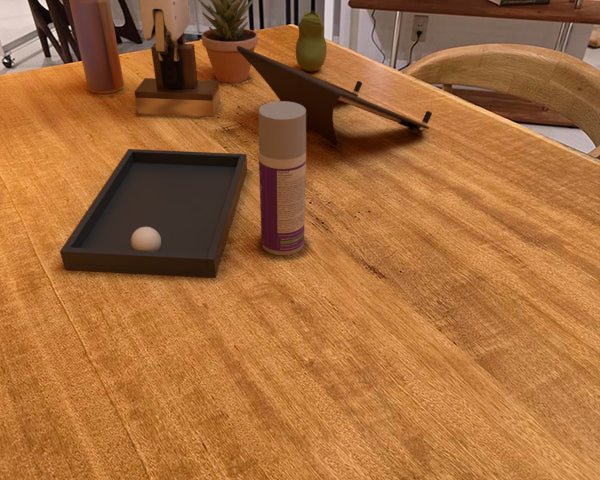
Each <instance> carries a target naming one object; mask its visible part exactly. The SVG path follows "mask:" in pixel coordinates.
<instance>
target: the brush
mask: <svg viewBox="0 0 600 480" xmlns="http://www.w3.org/2000/svg"><path fill="white" fill-rule="evenodd" d="M168 45H171V47H172V44H168ZM172 49H173V47H172ZM195 49H196V48H195V44H194V43H185V44H178V51H179V60H182V68H183V77H184V86H183V87H182V88H174V87H164V86H163V82H162V74H161V67H160V60H159V54H158V52H157V51H156V42H154V44H153V45H152V46H151V47H150V50H151V57H152V65H153V71H154V78H153V77H151V78H150V77H145V78H144V79H142V81H141V82H140V84H139V85H138V86H137V88H136V89H135V90H134V98H135V104H136V109H137V110H136V112H137V114H139V115H140V114H141V115H161V116H164V115H165V116H191V117H212V118H213V117H215V115H216V113H217V111H218V108H219V106H220V105H221V92H220V89H221V88H220V81H218V80H209V79H208V80H207V79H206V80H205V79H198V70H197V59H196V50H195Z"/></svg>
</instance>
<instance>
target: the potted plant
mask: <svg viewBox="0 0 600 480" xmlns="http://www.w3.org/2000/svg"><path fill="white" fill-rule="evenodd" d="M197 1H198V2H199V3H200V4H201V5H202V7H203V8H204V9H205V10H206V11H207V12H208V13H209V14H210V15H211V16H212V17H213V18H214V19H213V18H211V17H210V16H209V15H207V14H206V13H204V12H203V11H202V15H203V17H204V18H205V19H206V20H207V21H208V22H209V23H210V24H211V25H212V26H213V27H214V28H212V27H211V26H208V29H207V30H205V31H204V32H202V34H201V41H202V42H201V43H202V46H203V47H204V48H205V51H206V53H207V56H208V59H209V62H210V64H211V68H212V72H213V73H214V76H215V80H216V81H219V82H221V83H227V84H238V83H239V84H240V83H241V82H245V81H247V80H248V79H249V78H250V71H251V67H252V65H251V64H250V63H249V62H248V61H247V60H246V59H245V58H244V57H243V55H242V54H241V53H240V52H239V51H238V50H237V46H241V47H243V48H246V49H248V50H251V51H253V52H255V48H256V47H257V46H258V44H259V34H258V33H257V32H256V31H255V30H252V29H248V28H246V27H247V26H248V23H249V22H248V21H246V19H247V18H248V15H245V13H246V12H247V11H248V10H249V8H250V7H251V5H252V4H253V2H254V0H250V1H248V0H210V2H211V4H212V5H213V7H212V6H211V4H208V5H207V4H206V3H204V2H203V1H202V0H197ZM247 1H248V3H247ZM244 15H245V16H244ZM245 21H246V22H245ZM244 22H245V23H244ZM243 23H244V24H243ZM241 25H242V26H241Z"/></svg>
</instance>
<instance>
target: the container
mask: <svg viewBox="0 0 600 480" xmlns="http://www.w3.org/2000/svg"><path fill="white" fill-rule="evenodd" d="M258 175H259V177H258V178H259V204H260V205H259V207H260V209H259V210H260V235H261V236H260V238H261V239H260V240H261V246H262V248H263V250H264V251H266V252H267V253H269V254H271V255H276V256H291V255H294V254H297V253H299V252H300V251H301V250H302V249H303V248H304V246H305V223H306V219H305V218H306V186H307V185H306V184H307V183H306V179H307V129H306V109H305V108H304V107H303V106H302V105H300V104H297V103H294V102H287V101H280V100H278V101H271V102H267V103H264V104H262V105H261V106H260V107H259V108H258Z"/></svg>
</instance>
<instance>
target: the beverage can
mask: <svg viewBox="0 0 600 480" xmlns="http://www.w3.org/2000/svg"><path fill="white" fill-rule="evenodd" d="M110 1H111V0H68V2H69V7H70V11H71V16H72V20H73V26H74V31H75V35H76V40H77V44H78V45H77V46H78V48H79V49H78V50H79V54H80V58H81V63H82V69H83V72H84V73H83V74H84V76H85V81H86V82H85V83H86V87H87V88H88V89H89V91H90V92H92V93H93V94H97V95H109V94H115V93H117V92H120V91H121V90H122V89H123V87H124V84H125V82H124V76H123V69H122V65H121V58H120V54H119V47H118V42H117V36H116V30H115V24H114V18H113V13H112V12H113V11H112V7H111V2H110Z"/></svg>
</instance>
